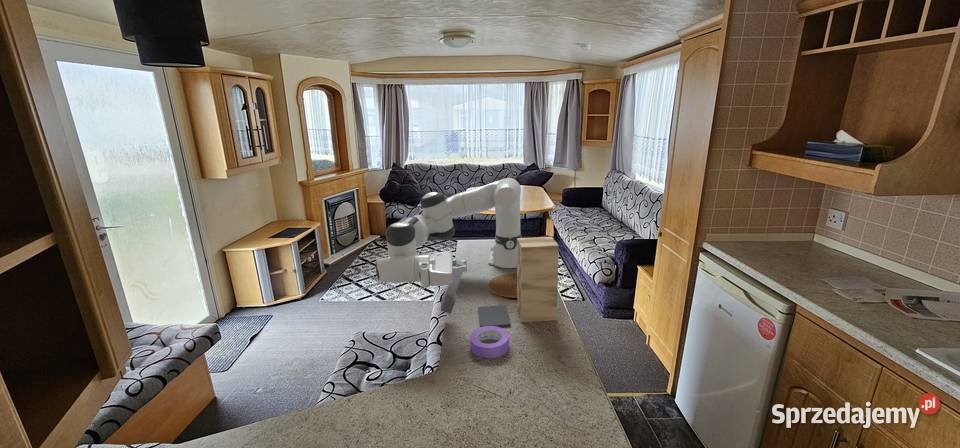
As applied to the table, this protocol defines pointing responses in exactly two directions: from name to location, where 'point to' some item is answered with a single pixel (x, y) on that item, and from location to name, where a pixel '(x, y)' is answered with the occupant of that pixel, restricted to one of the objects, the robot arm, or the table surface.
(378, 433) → the table surface
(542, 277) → the oak post
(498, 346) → the masking tape
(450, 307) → the bar
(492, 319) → the mat
